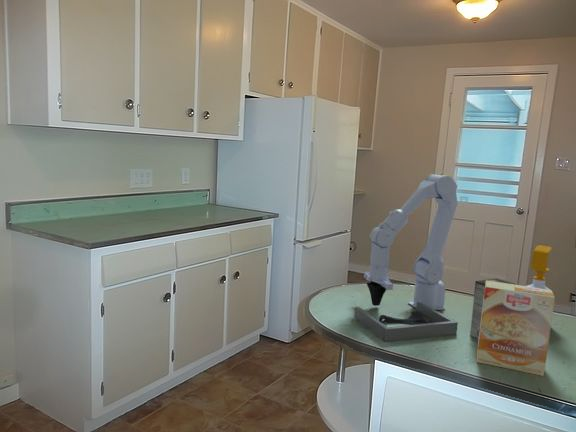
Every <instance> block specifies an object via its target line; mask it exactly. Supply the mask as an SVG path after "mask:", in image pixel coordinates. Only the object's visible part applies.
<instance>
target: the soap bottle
mask: <svg viewBox="0 0 576 432" xmlns="http://www.w3.org/2000/svg"><path fill="white" fill-rule="evenodd" d="M552 249H553V248H552V246H549V245H547V246H546V245H540V244H538V245H537V246H535V248H534V250H533V252H532V257H531V258H532V259H531V264H530V269H531V270H534V271H535V273H536V276H535V275H534V276H533V279H532V283H531V284H528V285H527V284H526V286H528V287H534V288H541V289H548V290H551V289H550V288H549V287H547V286H546V277H544V274H546V273H548V272H549V271H550V268H547V266H548V258H549V255H550V253H551V251H552ZM553 295H554V293H553ZM554 296H555V295H554Z"/></svg>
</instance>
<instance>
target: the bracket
mask: <svg viewBox="0 0 576 432" xmlns="http://www.w3.org/2000/svg"><path fill="white" fill-rule="evenodd" d="M378 321H380V322H381V323H383V324H407V325H417V324H427V323H430V321H429V320H427V319H426V318H424V317H422V316H421V315H420V314H419V313H417V312H416V310H412V312H411V314H410V316H409V317H407V318H399V317H398V318H397V317H394V316H393V317H391V316H389V315H386V314H382V315H380V316H379V318H378Z"/></svg>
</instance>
